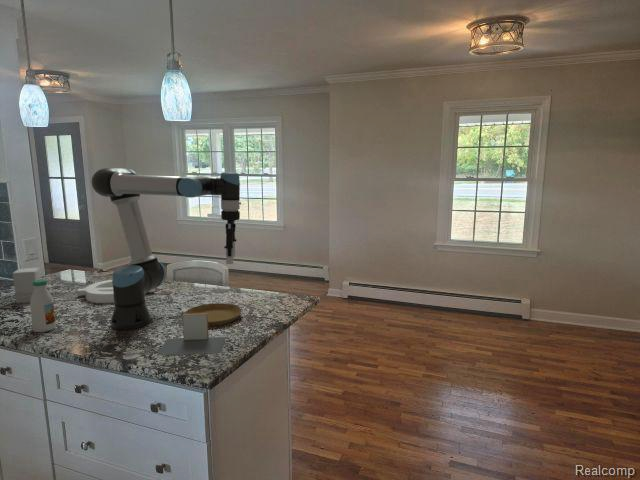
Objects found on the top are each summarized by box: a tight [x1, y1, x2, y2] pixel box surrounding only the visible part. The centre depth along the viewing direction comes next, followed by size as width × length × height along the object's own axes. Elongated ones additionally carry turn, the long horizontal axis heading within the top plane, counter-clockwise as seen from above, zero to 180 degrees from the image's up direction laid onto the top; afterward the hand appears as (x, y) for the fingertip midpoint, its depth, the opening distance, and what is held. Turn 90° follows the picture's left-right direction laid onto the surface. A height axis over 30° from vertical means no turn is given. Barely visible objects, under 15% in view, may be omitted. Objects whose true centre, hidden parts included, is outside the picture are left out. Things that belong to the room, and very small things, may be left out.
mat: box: [156, 336, 227, 356], centre depth 150 cm, size 22×14×1 cm, turn 96°
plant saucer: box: [184, 302, 243, 327], centre depth 179 cm, size 24×24×3 cm
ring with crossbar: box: [76, 279, 156, 304], centre depth 211 cm, size 28×28×5 cm
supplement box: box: [12, 267, 42, 304], centre depth 199 cm, size 9×9×15 cm
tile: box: [182, 313, 210, 340], centre depth 155 cm, size 9×1×10 cm, turn 96°
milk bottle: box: [29, 278, 57, 333], centre depth 163 cm, size 8×8×20 cm
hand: (230, 260), depth 175 cm, fingers open, 13 cm apart
